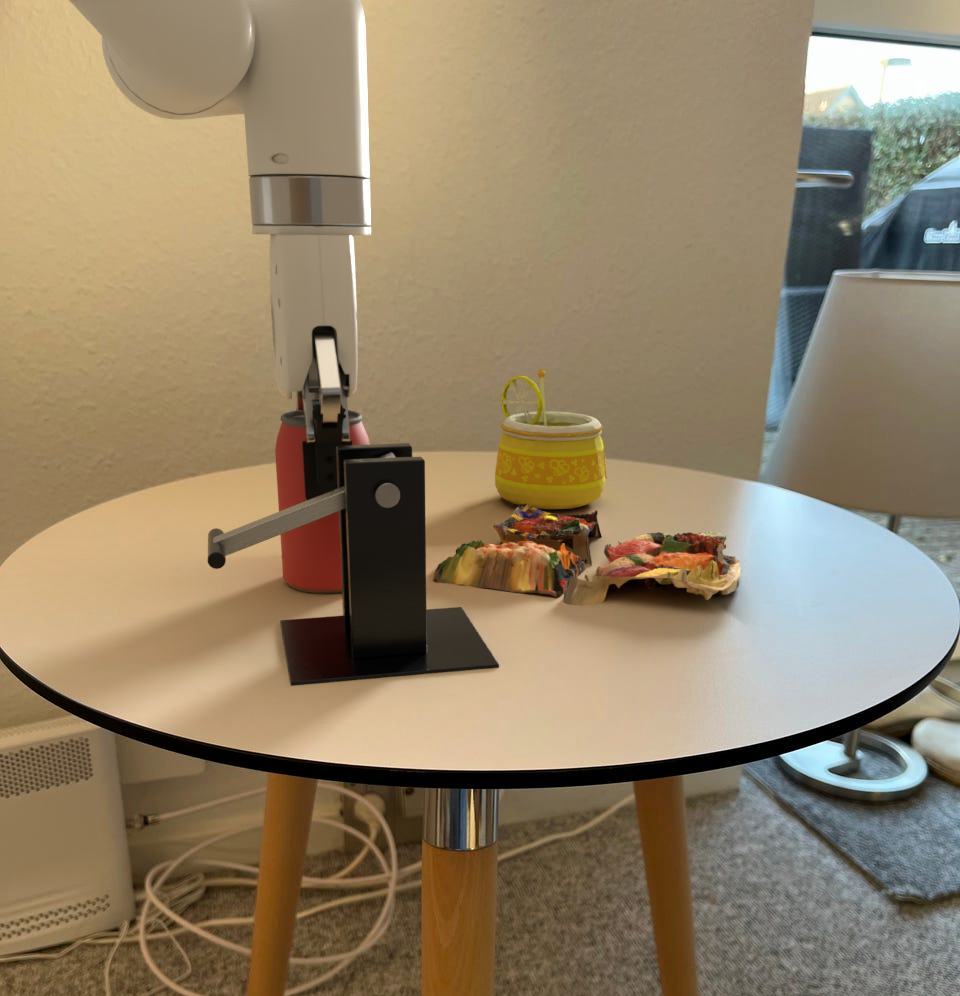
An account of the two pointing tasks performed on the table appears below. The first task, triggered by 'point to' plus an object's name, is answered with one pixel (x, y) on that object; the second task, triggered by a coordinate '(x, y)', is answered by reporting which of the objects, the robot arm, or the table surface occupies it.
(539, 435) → the yellow flower pot
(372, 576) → the bracket
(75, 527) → the table surface
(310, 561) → the beer can
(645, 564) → the food
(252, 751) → the table surface
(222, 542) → the lever
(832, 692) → the table surface
